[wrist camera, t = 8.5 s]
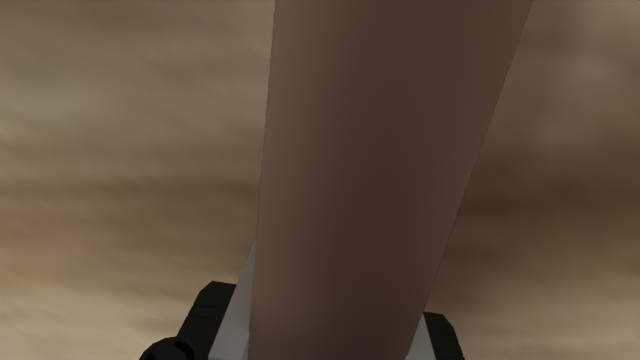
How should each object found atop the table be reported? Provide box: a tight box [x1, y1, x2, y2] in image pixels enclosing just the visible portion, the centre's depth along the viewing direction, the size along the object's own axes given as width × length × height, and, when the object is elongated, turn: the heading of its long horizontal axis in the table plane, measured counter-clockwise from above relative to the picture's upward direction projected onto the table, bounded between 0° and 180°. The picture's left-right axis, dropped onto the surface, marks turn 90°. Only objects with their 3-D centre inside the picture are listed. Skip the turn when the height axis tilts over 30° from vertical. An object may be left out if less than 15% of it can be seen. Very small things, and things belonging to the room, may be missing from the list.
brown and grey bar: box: [247, 0, 533, 360], centre depth 12 cm, size 4×28×6 cm, turn 172°
